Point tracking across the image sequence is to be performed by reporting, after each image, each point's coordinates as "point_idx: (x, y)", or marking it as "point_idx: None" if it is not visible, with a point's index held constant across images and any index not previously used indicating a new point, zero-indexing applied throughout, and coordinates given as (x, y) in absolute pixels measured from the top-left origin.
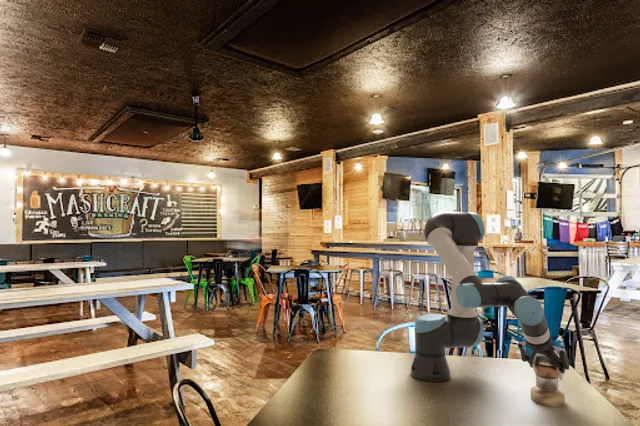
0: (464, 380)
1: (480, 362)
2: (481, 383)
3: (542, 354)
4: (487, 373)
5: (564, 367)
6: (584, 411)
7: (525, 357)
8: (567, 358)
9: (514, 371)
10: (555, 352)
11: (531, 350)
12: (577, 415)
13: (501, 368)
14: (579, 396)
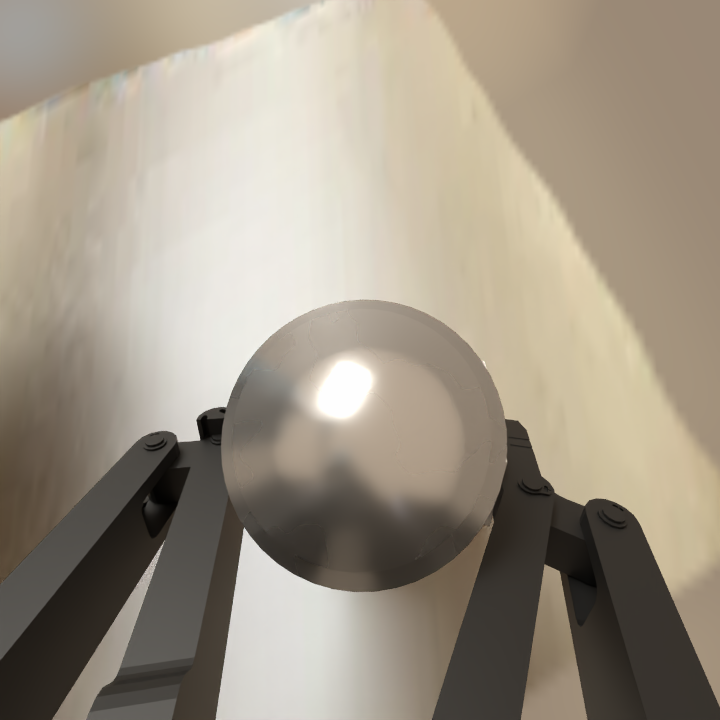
0: (27, 388)
1: (111, 134)
2: (99, 385)
3: (316, 578)
4: (132, 243)
5: (565, 590)
6: None
7: (153, 546)
8: (682, 647)
9: (240, 161)
10: (485, 472)
11: (152, 590)
12: (540, 593)
13: (190, 155)
14: (515, 311)
